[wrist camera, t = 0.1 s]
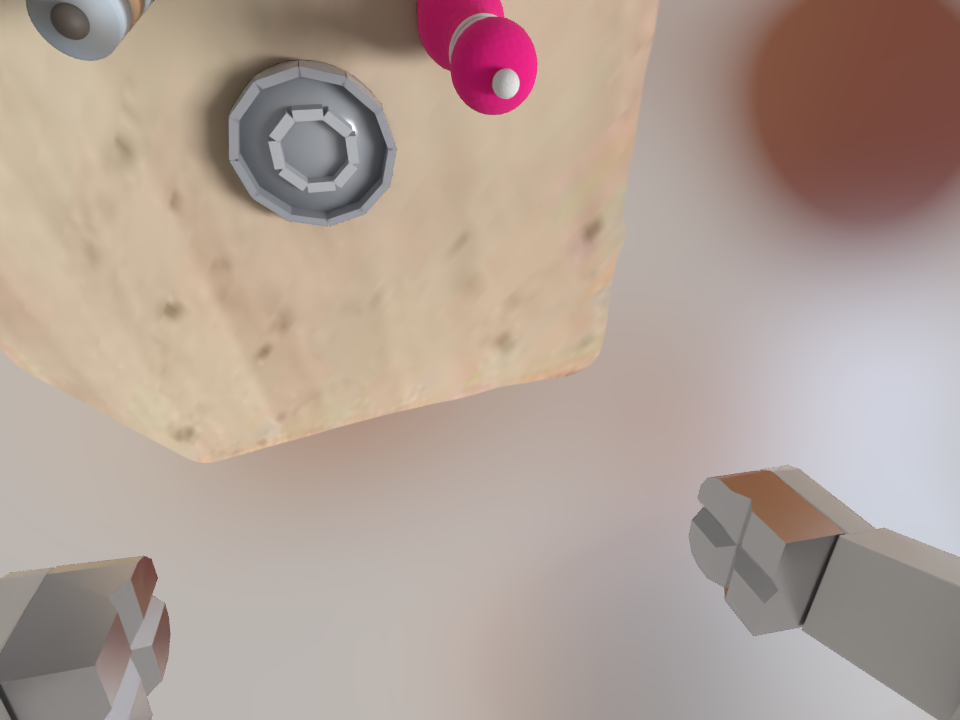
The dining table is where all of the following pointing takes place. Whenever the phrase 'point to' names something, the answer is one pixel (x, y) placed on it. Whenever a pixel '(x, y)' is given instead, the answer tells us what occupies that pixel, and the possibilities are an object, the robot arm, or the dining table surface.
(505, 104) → the pepper mill
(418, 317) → the dining table surface
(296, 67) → the tray
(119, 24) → the bead column
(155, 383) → the dining table surface
